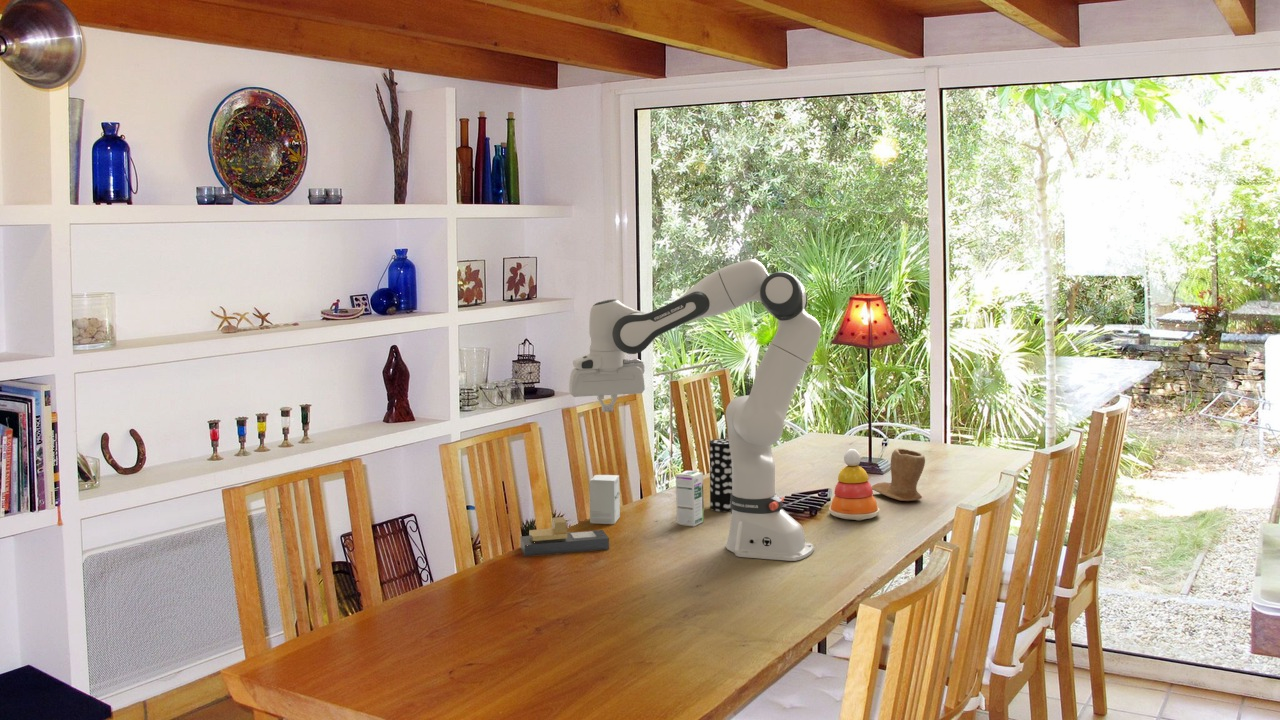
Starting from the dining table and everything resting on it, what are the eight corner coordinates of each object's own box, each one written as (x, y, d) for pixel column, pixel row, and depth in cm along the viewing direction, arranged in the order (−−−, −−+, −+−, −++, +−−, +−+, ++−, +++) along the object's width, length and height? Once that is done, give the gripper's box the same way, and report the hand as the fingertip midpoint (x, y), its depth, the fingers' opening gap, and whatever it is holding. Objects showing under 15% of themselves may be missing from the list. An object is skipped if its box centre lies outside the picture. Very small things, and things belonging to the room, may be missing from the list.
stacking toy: (888, 514, 316) (889, 448, 314) (863, 525, 306) (864, 456, 303) (844, 507, 326) (845, 442, 323) (819, 517, 315) (819, 450, 312)
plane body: (602, 540, 294) (602, 528, 294) (609, 549, 287) (608, 537, 286) (520, 547, 289) (520, 535, 289) (524, 556, 282) (524, 544, 281)
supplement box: (615, 524, 310) (614, 480, 308) (589, 523, 311) (588, 479, 310) (620, 517, 317) (619, 474, 316) (595, 516, 319) (594, 473, 317)
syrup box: (694, 527, 307) (694, 475, 305) (676, 524, 310) (675, 473, 308) (704, 522, 311) (703, 471, 310) (686, 519, 314) (685, 469, 313)
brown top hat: (932, 501, 330) (933, 452, 329) (898, 505, 326) (899, 455, 324) (902, 490, 344) (903, 443, 343) (870, 494, 340) (870, 446, 338)
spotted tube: (743, 506, 327) (743, 440, 325) (730, 513, 320) (729, 445, 318) (718, 503, 332) (718, 437, 329) (705, 509, 325) (704, 442, 322)
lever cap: (563, 531, 290) (562, 516, 290) (567, 538, 285) (566, 522, 284) (529, 534, 288) (528, 519, 288) (532, 541, 283) (532, 525, 282)
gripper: (641, 357, 300) (642, 407, 302) (567, 360, 295) (568, 411, 297) (647, 359, 294) (648, 411, 296) (571, 363, 289) (572, 415, 291)
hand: (607, 411), depth 297 cm, fingers closed
